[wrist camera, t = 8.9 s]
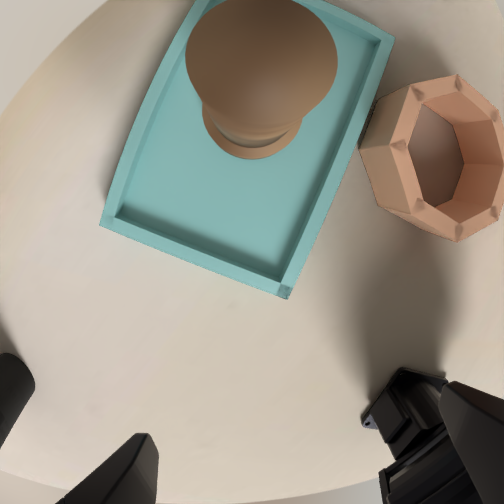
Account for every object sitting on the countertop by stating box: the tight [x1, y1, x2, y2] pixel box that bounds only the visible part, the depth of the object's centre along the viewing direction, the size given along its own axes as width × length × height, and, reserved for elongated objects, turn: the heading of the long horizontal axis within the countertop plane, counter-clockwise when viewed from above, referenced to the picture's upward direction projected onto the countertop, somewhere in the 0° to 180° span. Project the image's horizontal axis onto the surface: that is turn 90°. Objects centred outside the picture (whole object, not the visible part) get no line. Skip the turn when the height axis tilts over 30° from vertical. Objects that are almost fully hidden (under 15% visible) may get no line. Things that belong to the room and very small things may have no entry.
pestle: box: [185, 0, 338, 160], centre depth 12 cm, size 5×5×10 cm
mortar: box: [359, 74, 504, 243], centre depth 17 cm, size 9×9×4 cm
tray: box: [99, 0, 395, 300], centre depth 17 cm, size 12×18×2 cm, turn 157°
